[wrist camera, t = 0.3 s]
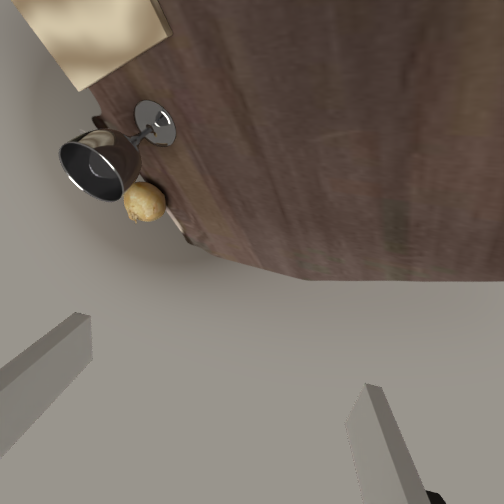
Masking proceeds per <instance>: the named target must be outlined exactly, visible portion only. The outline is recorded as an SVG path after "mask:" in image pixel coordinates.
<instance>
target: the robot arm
mask: <svg viewBox="0 0 504 504" xmlns="http://www.w3.org/2000/svg"><path fill="white" fill-rule="evenodd" d="M91 361H92V338H91V316H89V315H85V314H81V313H76V312H75V313H73V314H72V315H71V316H70V317H68V318H67V319H66V320H64V321H63V322H62V323H60V324H59V325H58V326H56V327H55V328H54V329H52V330H51V331H50V332H49V333H47V334H46V335H44V336H43V337H42V338H40V339H39V340H38V341H37V342H35V343H34V344H32V345H31V346H30V347H29V348H27V349H26V350H25V351H23V352H22V353H21V354H19V355H18V356H17V357H15V358H14V359H13V360H12V361H10V362H9V363H7V364H6V365H5V366H4V367H2V368H1V369H0V459H1V458H2V457H3V456H4V454H5V453H6V452H7V451H8V450H9V449H10V448H11V447H12V446H13V445H14V444H15V442H17V440H18V439H19V438H20V437H21V436H22V435H23V434H24V433H25V432H26V431H27V430H28V429H29V428H30V426H31V425H32V424H33V423H34V422H35V421H36V420H37V419H38V418H39V417H40V416H41V415H42V414H43V413H44V411H45V410H46V409H47V408H48V407H49V406H50V405H51V403H53V402H54V401H55V399H56V398H57V397H58V396H59V395H60V394H61V393H62V392H63V391H64V390H65V389H66V388H67V387H68V386H69V384H70V383H71V382H72V381H73V380H74V379H75V378H76V377H77V376H78V375H79V374H80V373H81V371H83V369H84V368H85V367H86V366H87V365H88V364H89V363H90V362H91ZM345 426H346V430H347V435H348V439H349V444H350V448H351V452H352V457H353V461H354V465H355V470H356V474H357V478H358V482H359V487H360V491H361V496H362V500H363V504H446V503H445V501H444V500H443V498H442V497H441V496H440V495H439V494H438V493H434V492H430V491H426V490H425V489H424V486H423V484H422V482H421V479H420V477H419V475H418V473H417V470H416V468H415V465H414V463H413V460H412V458H411V456H410V453H409V451H408V449H407V447H406V444H405V442H404V439H403V437H402V434H401V433H400V430H399V427H398V425H397V423H396V421H395V418H394V416H393V414H392V411H391V409H390V406H389V404H388V402H387V399H386V397H385V394H384V392H383V390H382V387H378V386H374V385H370V384H366V383H365V384H364V386H363V388H362V390H361V392H360V394H359V396H358V398H357V400H356V402H355V404H354V406H353V408H352V410H351V412H350V414H349V416H348V418H347V420H346V422H345Z"/></svg>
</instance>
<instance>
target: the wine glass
mask: <svg viewBox="0 0 504 504" xmlns="http://www.w3.org/2000/svg"><path fill="white" fill-rule="evenodd" d="M134 121H135V124H136V126H137V128H138V130H139V132H140V133H138V134H136V135H134V136H127V135H125V134H123V133H121V132H119V131H116V130H113V129H97V130H93V131H90V132H86V133H84V134H81V135H79V136H77V137H75V138H73V139H71V140H70V141H68V142H67V143H65V144H64V145H62V146H61V148H60V149H59V159H60V163H61V165H62V167H63V169H64V171H65V172H66V174H67V175H68V177H69V178H70V179H71V180H72V181H73V182H74V183H75V184H76V185H77V186H78V187H79V188H80V189H82V190H83V191H84V192H86V193H87V194H89V195H90V196H92V197H94V198H96V199H99V200H101V201H105V202H114V201H117V200H119V199H120V198H121V197H122V196H123V195H124V194H125V193H126V192H127V191H128V190H129V189H130V188H131V187H132V185H133V184H134V182H135V181H136V179H137V177H138V175H139V173H140V170H141V167H142V161H141V155H140V152H139V144H140V142H141V141H142V140H143V139H144V138H145V139H146V140H147V141H149V142H150V143H152V144H154V145H156V146H159V147H167V146H170V145H171V144H172V143H173V142H174V140H175V137H176V129H175V125H174V122H173V120H172V118H171V116H170V115H169V113H168V112H167V111H166V110H165V109H164V108H163V107H162V106H161V105H159V104H158V103H156V102H153V101H150V100H143V101H140V102H139V103H137V105H136V106H135V108H134Z"/></svg>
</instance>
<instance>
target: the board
mask: <svg viewBox="0 0 504 504" xmlns="http://www.w3.org/2000/svg"><path fill="white" fill-rule="evenodd" d="M11 1H12V2H13V4H14V5H15V6H16V7H17V9H18V10H19V12H20V13H21V14H22V16H23V17H24V18H25V20H26V21H27V22H28V24H29V25H30V27H31V28H32V29H33V31H34V32H35V33H36V35H37V36H38V37H39V39H40V40H41V41H42V43H43V44H44V45H45V47H46V48H47V50H48V51H49V52H50V54H51V55H52V56H53V58H54V59H55V60H56V62H57V63H58V64H59V66H60V67H61V68H62V70H63V71H64V73H65V74H66V75H67V77H68V78H69V79H70V81H71V82H72V83H73V85H74V86H75V87H76V89H77V90H78V91H79V92H80V91H82V90H84V89H86V88H88V87H89V86H91V85H93V84H94V83H96V82H97V81H99V80H101V79H102V78H104V77H105V76H107V75H109V74H110V73H112V72H113V71H115V70H117V69H118V68H120V67H121V66H123V65H125V64H126V63H128V62H130V61H131V60H133V59H134V58H136V57H138V56H139V55H141V54H142V53H144V52H146V51H147V50H149V49H150V48H152V47H154V46H155V45H157V44H159V43H160V42H162V41H163V40H165V39H167V38H168V37H170V36H171V35H173V33H172V31H171V28H170V26H169V24H168V22H167V20H166V18H165V16H164V13H163V11H162V9H161V7H160V5H159V3H158V1H157V0H11Z"/></svg>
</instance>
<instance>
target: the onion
mask: <svg viewBox="0 0 504 504" xmlns="http://www.w3.org/2000/svg"><path fill="white" fill-rule="evenodd" d="M124 205H125V208H126V210H127V212H128V215H129V218H130V219H131V220H134V221H135V223H137V222H136V219H138V220H142V221H154V220H156V219H158V218H160V217H161V216H162V215H163V214H164V212H165V209H166V201H165V195H164V194H163V193H162V192H161V191H160V190H159V189H158V188H157V187H155V186H154V185H152V184H150V183H147V182H135V183H134V184H133V185H132V187H131V188H130V189H129V190H128V191H127V192H126V193H125V194H124Z"/></svg>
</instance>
